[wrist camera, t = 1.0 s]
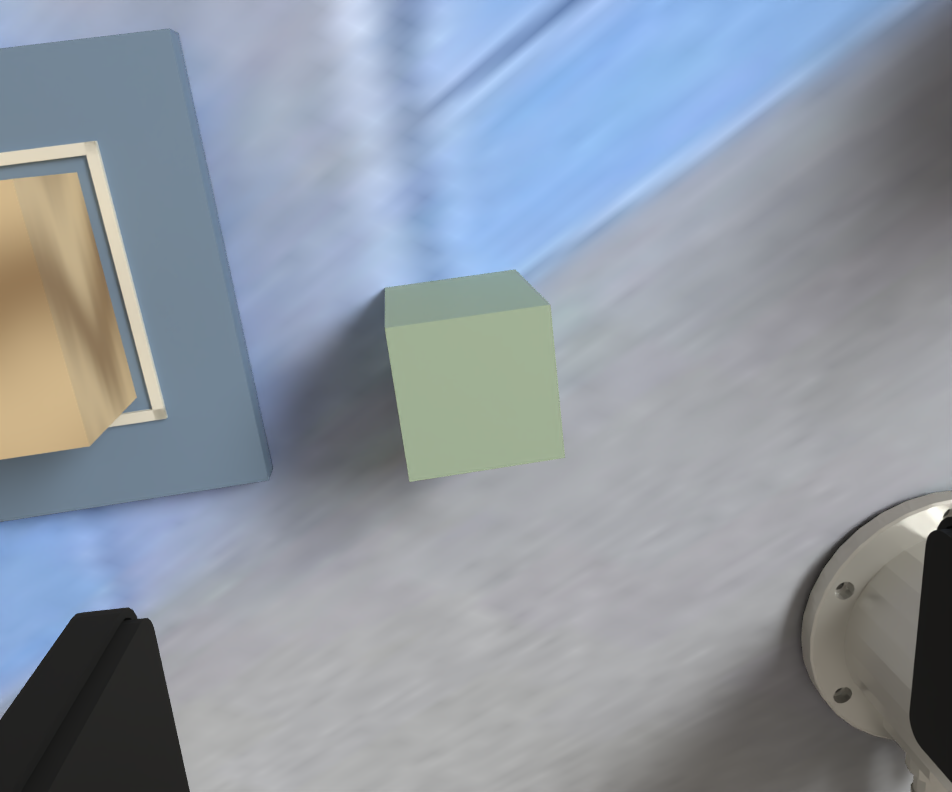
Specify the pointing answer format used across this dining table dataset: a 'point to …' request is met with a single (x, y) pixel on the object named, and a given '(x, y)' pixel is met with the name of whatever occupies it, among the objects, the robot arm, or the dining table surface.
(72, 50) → the board
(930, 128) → the dining table surface
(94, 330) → the oak block
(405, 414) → the sage brick
